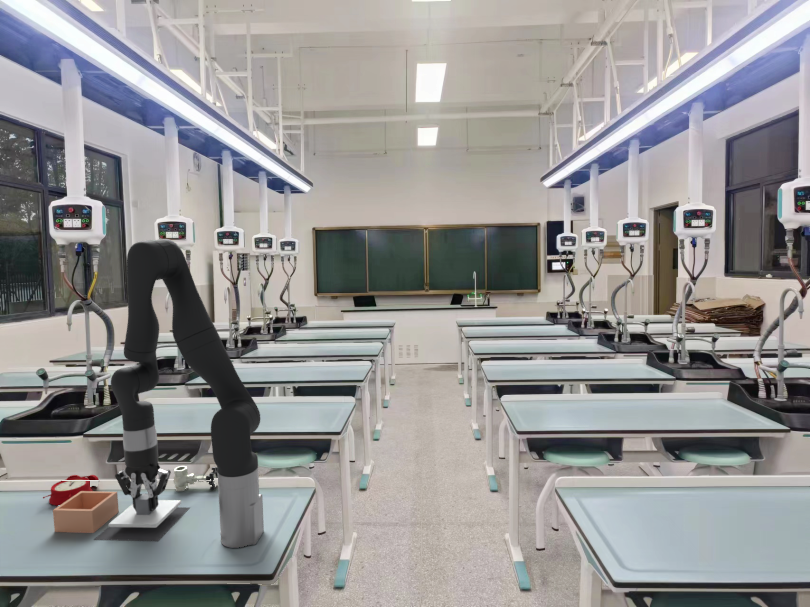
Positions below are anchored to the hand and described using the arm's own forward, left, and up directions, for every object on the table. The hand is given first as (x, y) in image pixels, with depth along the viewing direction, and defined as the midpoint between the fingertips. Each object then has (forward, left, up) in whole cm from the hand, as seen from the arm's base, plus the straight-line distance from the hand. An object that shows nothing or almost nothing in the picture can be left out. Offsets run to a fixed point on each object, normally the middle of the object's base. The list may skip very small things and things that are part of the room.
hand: (146, 509), depth 130 cm
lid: (0, 0, -1) cm, 1 cm away
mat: (0, 0, -4) cm, 4 cm away
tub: (+15, 0, -4) cm, 16 cm away
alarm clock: (+30, -15, -4) cm, 34 cm away
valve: (-4, -19, -4) cm, 20 cm away
